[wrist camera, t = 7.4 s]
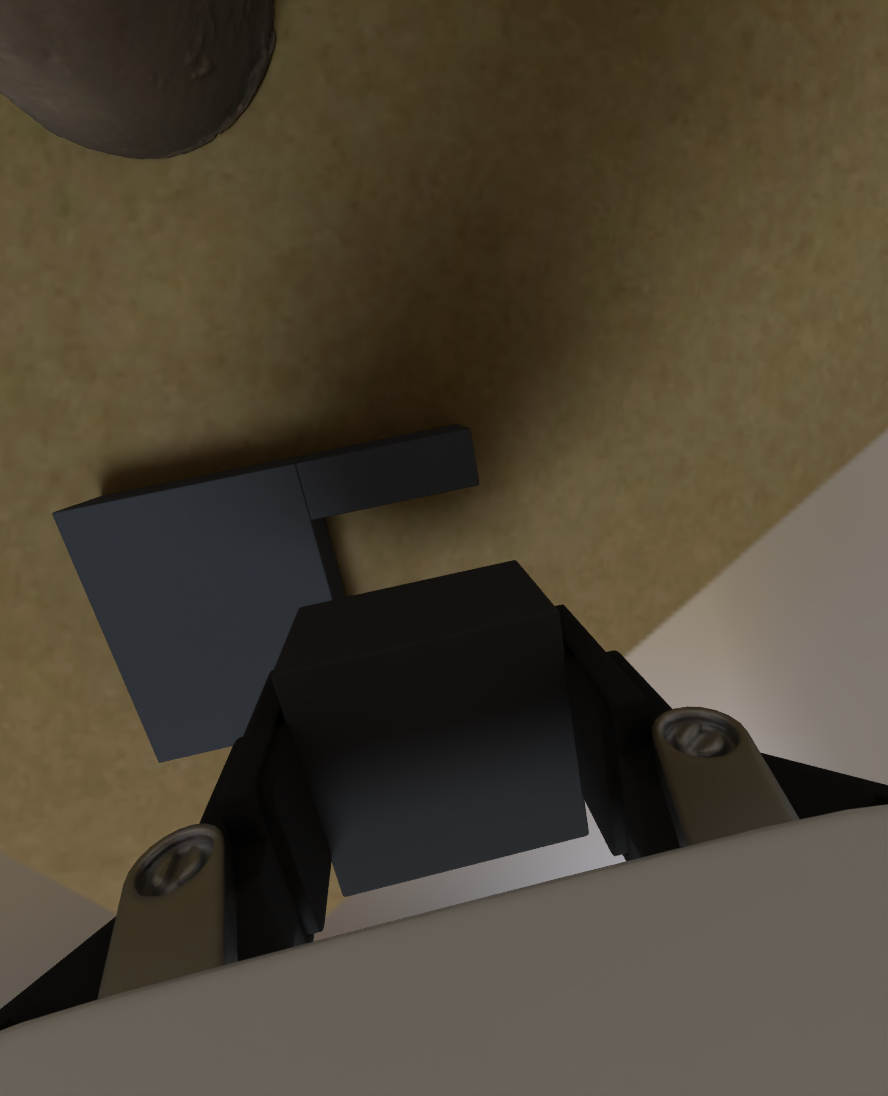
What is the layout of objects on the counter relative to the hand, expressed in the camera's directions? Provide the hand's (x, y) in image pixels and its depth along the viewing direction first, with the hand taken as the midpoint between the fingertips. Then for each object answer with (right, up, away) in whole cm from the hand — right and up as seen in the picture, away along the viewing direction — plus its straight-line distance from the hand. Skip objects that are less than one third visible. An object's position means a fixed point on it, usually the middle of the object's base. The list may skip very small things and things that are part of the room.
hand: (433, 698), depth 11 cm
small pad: (0, 0, +1) cm, 1 cm away
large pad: (-5, +2, +10) cm, 11 cm away
